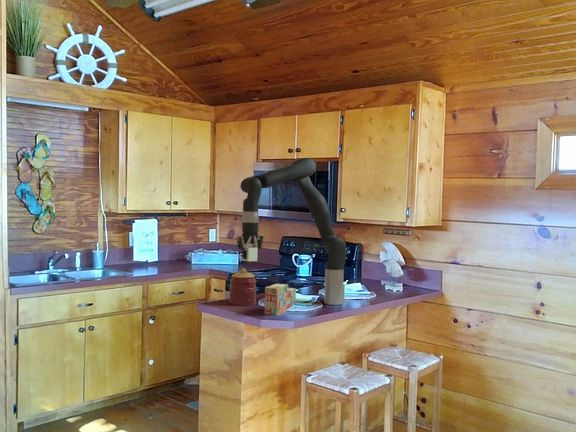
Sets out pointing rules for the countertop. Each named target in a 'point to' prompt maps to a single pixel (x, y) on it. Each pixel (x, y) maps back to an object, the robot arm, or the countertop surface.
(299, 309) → the countertop surface
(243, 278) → the canister
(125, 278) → the countertop surface
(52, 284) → the countertop surface
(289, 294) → the stack of blocks
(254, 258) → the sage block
